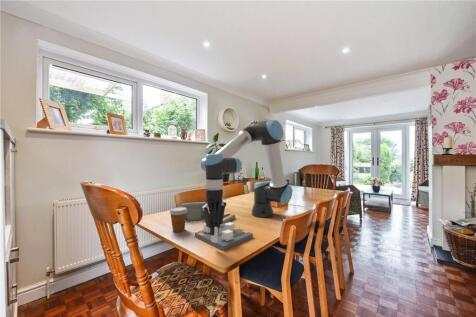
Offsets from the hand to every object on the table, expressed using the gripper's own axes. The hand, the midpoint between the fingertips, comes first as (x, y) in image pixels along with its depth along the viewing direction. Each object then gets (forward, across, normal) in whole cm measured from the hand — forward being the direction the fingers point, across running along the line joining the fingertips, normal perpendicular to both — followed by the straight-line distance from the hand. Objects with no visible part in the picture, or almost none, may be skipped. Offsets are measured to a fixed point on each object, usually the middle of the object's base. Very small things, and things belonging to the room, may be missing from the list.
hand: (214, 241), depth 90 cm
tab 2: (+1, -16, -7) cm, 18 cm away
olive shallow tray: (+4, -29, -26) cm, 39 cm away
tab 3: (+1, -8, 0) cm, 8 cm away
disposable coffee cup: (+4, -1, -32) cm, 32 cm away
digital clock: (+4, -19, -44) cm, 48 cm away
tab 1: (+1, -8, -14) cm, 16 cm away
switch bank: (+4, -12, -7) cm, 14 cm away
